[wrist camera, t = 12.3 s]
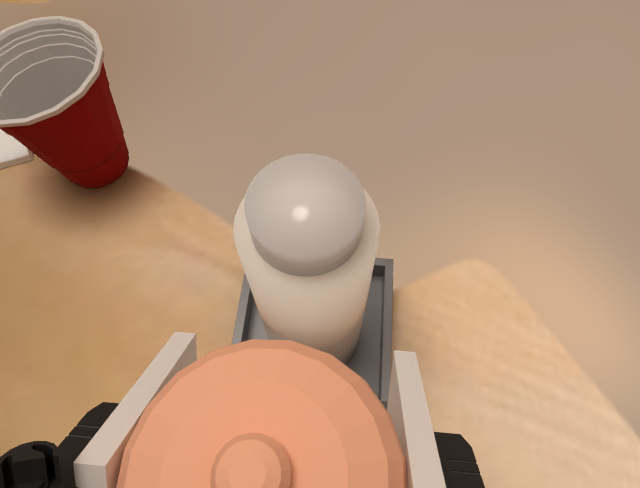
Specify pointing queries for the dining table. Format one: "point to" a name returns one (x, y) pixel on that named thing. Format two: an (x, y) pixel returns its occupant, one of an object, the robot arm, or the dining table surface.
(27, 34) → the plastic cup
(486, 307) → the dining table surface
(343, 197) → the salt shaker
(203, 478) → the pepper shaker
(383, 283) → the shaker caddy
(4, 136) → the external hard drive
